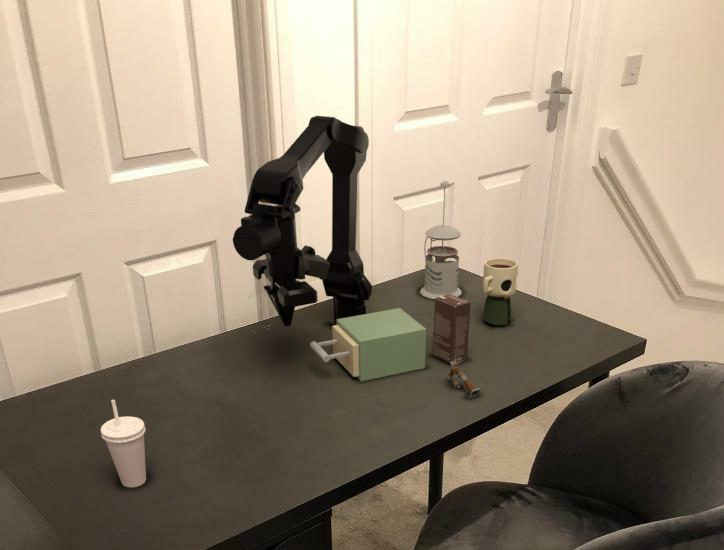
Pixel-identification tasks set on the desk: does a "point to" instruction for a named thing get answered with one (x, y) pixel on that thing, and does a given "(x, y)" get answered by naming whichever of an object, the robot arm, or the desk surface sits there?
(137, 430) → the smoothie
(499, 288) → the character mug
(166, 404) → the desk surface
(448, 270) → the french press
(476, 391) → the wooden post with brackets
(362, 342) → the green drawer cabinet
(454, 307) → the box
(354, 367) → the pod drawer
